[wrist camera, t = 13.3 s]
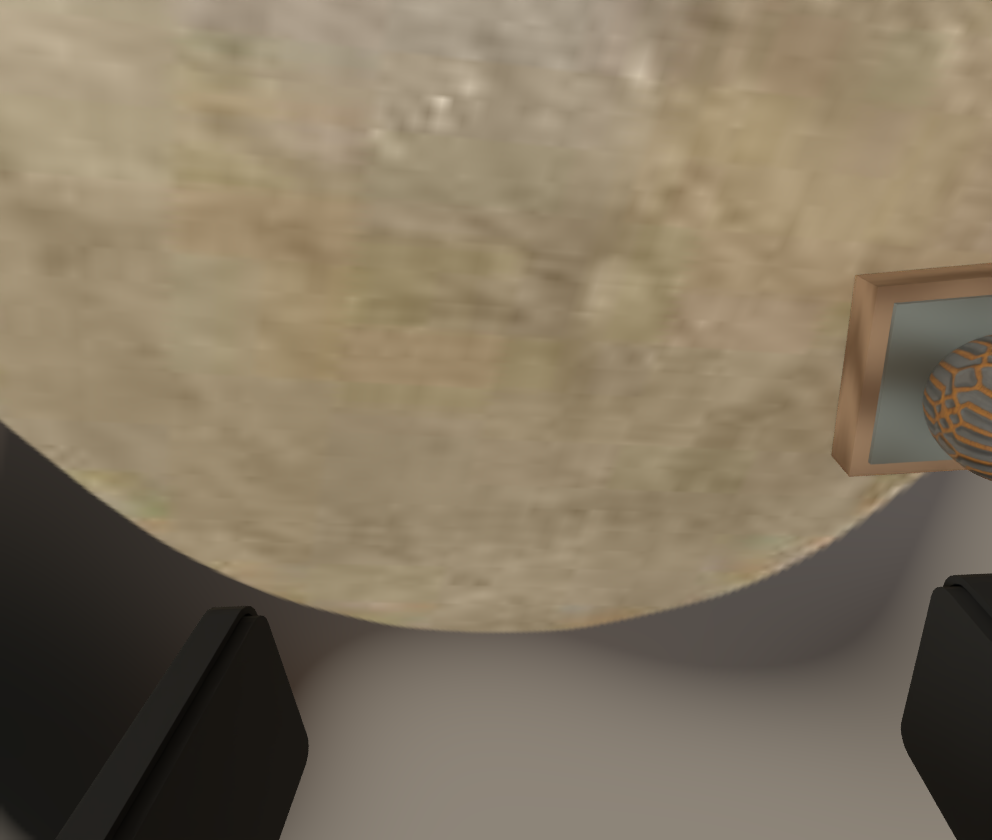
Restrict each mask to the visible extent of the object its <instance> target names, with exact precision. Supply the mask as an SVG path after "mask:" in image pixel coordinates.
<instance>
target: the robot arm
mask: <svg viewBox="0 0 992 840" xmlns="http://www.w3.org/2000/svg"><path fill="white" fill-rule="evenodd" d="M901 735H902V739H903V743H904V746H905V748H906V751H907V753H908V755H909V757H910V758H911V760H912V762H913V764H914V765H915V767H916V769H917V771H918V772H919V774H920V776H921V778H922V779H923V781H924V783H925V785H926V786H927V788H928V790H929V792H930V794H931V795H932V797H933V799H934V800H935V802H936V804H937V806H938V808H939V809H940V811H941V813H942V814H943V816H944V818H945V820H946V821H947V823H948V825H949V827H950V829H951V830H952V832H953V834H954V836H955V837H956V839H957V840H992V574H971V575H953V576H950V577H948V578H947V579H946V581H945V583H944V585H943V587H937V588H936V589H935V590H934V591H933V593H932V596H931V600H930V604H929V608H928V612H927V617H926V621H925V625H924V629H923V634H922V638H921V642H920V647H919V650H918V655H917V659H916V663H915V667H914V671H913V676H912V680H911V684H910V688H909V693H908V697H907V701H906V705H905V709H904V714H903V718H902V722H901ZM308 747H309V746H308V737H307V734H306V731H305V728H304V725H303V722H302V719H301V716H300V713H299V710H298V708H297V705H296V702H295V699H294V696H293V693H292V690H291V687H290V684H289V682H288V679H287V676H286V673H285V670H284V667H283V664H282V661H281V658H280V655H279V652H278V650H277V647H276V644H275V641H274V638H273V635H272V632H271V629H270V626H269V623H268V621H267V619H266V618H265V617H264V616H258V615H257V613H256V611H255V609H254V608H252V607H251V606H237V607H214V608H211V609H209V610H208V611H207V612H206V613H205V614H204V615H203V617H202V618H201V620H200V621H199V623H198V624H197V626H196V627H195V629H194V630H193V632H192V633H191V635H190V637H189V638H188V640H187V641H186V643H185V644H184V646H183V647H182V649H181V650H180V652H179V653H178V655H177V656H176V658H175V659H174V661H173V662H172V664H171V665H170V667H169V668H168V670H167V671H166V673H165V674H164V676H163V677H162V679H161V680H160V682H159V683H158V685H157V686H156V688H155V689H154V691H153V693H152V694H151V695H150V697H149V698H148V700H147V702H146V703H145V705H144V706H143V708H142V709H141V711H140V712H139V714H138V715H137V717H136V718H135V720H134V721H133V723H132V724H131V726H130V727H129V729H128V730H127V732H126V733H125V735H124V737H123V738H122V739H121V741H120V742H119V744H118V745H117V747H116V748H115V750H114V752H113V753H112V754H111V756H110V757H109V759H108V760H107V762H106V763H105V765H104V767H103V768H102V769H101V771H100V773H99V774H98V776H97V777H96V779H95V780H94V782H93V783H92V785H91V786H90V788H89V789H88V791H87V792H86V794H85V795H84V797H83V798H82V800H81V802H80V803H79V804H78V806H77V807H76V809H75V810H74V812H73V813H72V815H71V816H70V818H69V819H68V821H67V822H66V824H65V825H64V827H63V829H62V830H61V831H60V833H59V834H58V836H57V838H56V839H55V840H279V838H280V835H281V832H282V830H283V827H284V824H285V821H286V819H287V816H288V813H289V810H290V807H291V804H292V802H293V799H294V796H295V793H296V790H297V788H298V785H299V782H300V779H301V776H302V774H303V770H304V768H305V765H306V761H307V757H308Z"/></svg>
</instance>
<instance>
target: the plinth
mask: <svg viewBox="0 0 992 840" xmlns="http://www.w3.org/2000/svg"><path fill="white" fill-rule="evenodd" d="M988 335H992V263H986V264H975V265H964V266H953V267H942V268H930V269H919V270H908V271H897V272H886V273H875V274H864V275H856V276H855V283H854V291H853V298H852V306H851V313H850V320H849V328H848V335H847V343H846V350H845V358H844V365H843V373H842V380H841V388H840V395H839V402H838V410H837V417H836V425H835V432H834V440H833V447H832V457H833V458H834V459H835V460H836V461H837V463H838V464H839V465H840V466H841V467H842V469H843V470H844V471H845V472H846V473H847V474H848V476H849V477H851V476H868V475H885V474H902V473H919V472H936V471H952V470H967V469H965V468H964V467H962V466H961V465H960V464H958V463H957V462H956V461H954V460H953V459H952V458H951V457H950V456H949V455H948V454H947V453H946V452H945V451H944V450H943V449H942V448H941V447H940V446H939V445H938V443H937V442H936V441H935V439H934V438H933V436H932V434H931V432H930V431H929V428H928V426H927V423H926V421H925V417H924V412H923V394H924V390H925V386H926V384H927V381H928V379H929V377H930V375H931V373H932V372H933V370H934V369H935V367H936V366H937V365H938V364H939V363H940V362H941V360H942V359H944V358H945V357H946V356H947V355H948V354H949V353H951V352H952V351H953V350H955V349H957V348H958V347H960V346H962V345H964V344H966V343H968V342H970V341H972V340H975V339H977V338H980V337H984V336H988Z"/></svg>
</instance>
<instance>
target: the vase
mask: <svg viewBox="0 0 992 840" xmlns="http://www.w3.org/2000/svg"><path fill="white" fill-rule="evenodd" d="M923 412H924V417H925V421H926V423H927V426H928V428H929V431H930V432H931V434H932V436H933V438H934V439H935V441H936V442H937V443H938V445H939V446H940V447H941V448H942V449H943V450H944V451H945V452H946V453H947V454H948V455H949V456H950V457H951V458H952V459H953V460H954V461H956V462H957V463H958V464H960V465H961V466H962V467H964V468H965V469H967V470H969V471H971V472H972V473H974V474H976V475H978V476H981V477H983V478H985V479H988V480H990V481H992V335H988V336H984V337H980V338H977V339H975V340H972V341H970V342H968V343H966V344H964V345H962V346H960V347H958V348H957V349H955V350H953V351H952V352H951V353H949V354H948V355H947V356H946V357H945V358H944V359H942V360H941V362H940V363H939V364H938V365H937V366H936V367H935V369H934V370H933V372H932V373H931V375H930V377H929V379H928V381H927V384H926V386H925V390H924V394H923Z"/></svg>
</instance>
